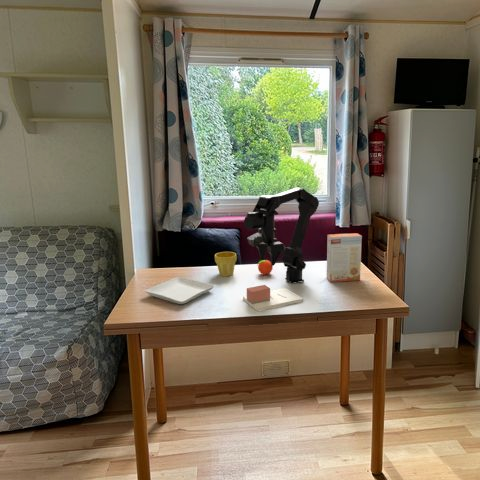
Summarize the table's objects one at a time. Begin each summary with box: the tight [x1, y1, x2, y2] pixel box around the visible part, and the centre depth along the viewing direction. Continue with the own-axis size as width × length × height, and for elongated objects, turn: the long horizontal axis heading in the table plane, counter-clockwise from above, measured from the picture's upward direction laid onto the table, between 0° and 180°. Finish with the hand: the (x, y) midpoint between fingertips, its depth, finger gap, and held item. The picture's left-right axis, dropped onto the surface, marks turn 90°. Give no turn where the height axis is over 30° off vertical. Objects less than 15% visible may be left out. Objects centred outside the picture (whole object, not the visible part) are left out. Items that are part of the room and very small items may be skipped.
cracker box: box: [326, 232, 363, 283], centre depth 178 cm, size 14×6×21 cm, turn 94°
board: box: [242, 287, 304, 312], centre depth 159 cm, size 20×13×1 cm, turn 115°
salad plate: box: [144, 276, 215, 305], centre depth 167 cm, size 21×21×3 cm
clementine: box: [256, 259, 274, 276], centre depth 189 cm, size 8×7×7 cm
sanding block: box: [246, 284, 271, 304], centre depth 156 cm, size 8×4×5 cm, turn 115°
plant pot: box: [214, 251, 238, 277], centre depth 191 cm, size 10×10×10 cm
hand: (267, 262), depth 168 cm, fingers open, 9 cm apart
